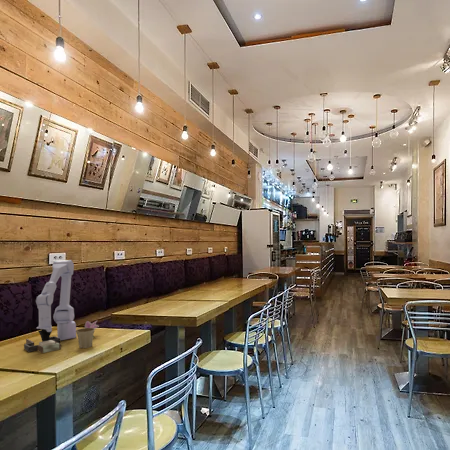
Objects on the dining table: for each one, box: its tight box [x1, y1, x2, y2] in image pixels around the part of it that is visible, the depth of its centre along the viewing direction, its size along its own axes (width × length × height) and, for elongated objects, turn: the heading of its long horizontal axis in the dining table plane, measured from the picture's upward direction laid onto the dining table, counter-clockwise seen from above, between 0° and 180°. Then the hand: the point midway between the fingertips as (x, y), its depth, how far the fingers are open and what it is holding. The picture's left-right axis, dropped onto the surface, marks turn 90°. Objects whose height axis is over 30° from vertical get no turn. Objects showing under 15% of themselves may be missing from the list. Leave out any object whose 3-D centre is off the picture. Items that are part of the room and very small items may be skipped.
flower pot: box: [76, 327, 96, 349], centre depth 196 cm, size 9×9×9 cm
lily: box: [84, 320, 100, 338], centre depth 216 cm, size 12×12×10 cm
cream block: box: [38, 340, 55, 347], centre depth 193 cm, size 6×6×4 cm
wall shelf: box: [23, 335, 62, 354], centre depth 200 cm, size 17×27×3 cm, turn 42°
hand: (45, 344), depth 197 cm, fingers closed
